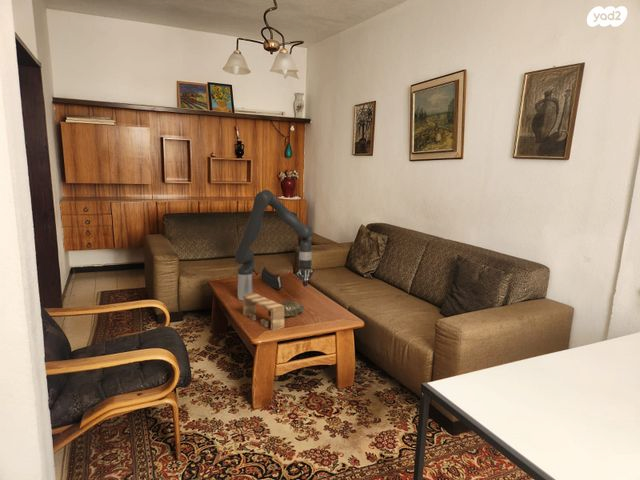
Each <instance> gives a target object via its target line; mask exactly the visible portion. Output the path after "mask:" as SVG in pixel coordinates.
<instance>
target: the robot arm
mask: <svg viewBox="0 0 640 480" xmlns="http://www.w3.org/2000/svg"><path fill="white" fill-rule="evenodd" d="M268 206H270V207H271V208H272V209H274V211H276V213H277V214H278V215H279V217H280V218H281V220H282V221H283V222H284V223H285V224H287V225H288V226H289V227H291V228H292V230H294V232H295V233H296V234H297V235H298V236H299V237H300V238H301V240H300V242H299V253H298V255H299V256H298V267H299V269H298V272H296V273H295V274H296V276H297V277H298V278H299V280H301V281H302V287H308V284H309V283H308V281H309V280H310V279H311V277H312V276H313V274H314V272H315V270H314V269H312V265H313V264H312V260H313V259H312V256H313V255H312V254H313V253H312V240H313V233H314V232H313V231H314V230H313V227H312V226H311V225H309V224H304V223H303V222H302V221H301V219H300V218H299V217H298V216H297V215H296V214H294V213H293V212H292V211H290V210H289V209H288V208H287V207H286V206H285V205H284V204H283V203H282V202H281V201H280V200H279V199H278V198H277V196H276V195H275V194H274V193H273V192H272V191H271V190H269V189H262V190H261V191H259V192H257V194H255V197H254V199H253V205H252V209H251V212H250V215H249V217H248V219H247V220H248V221H247V223H246V226H245V229H244V231H243V232H244V233H243V235H242V236H241V240H240V242H239V245H238V247H237V249H236V251H235V255H234V260H235V262H236V263H237V264H239V265H240V267H239V268H238V269H237V298H238V300H239V301H242V302H243V295H246V294H250V293H254V291H253V290H254V289H253V288H254V287H253V285H254V284H253V283H254V281H253V279H254V278H253V271H254V267H255V254H254V250H253V249H252V248H250V247H251V246H252V244H254V242H255V241H256V240H257V239H258V237H259V236H260V234H261V231H262V228H263V216H264V213H265V211H266V209H267V207H268ZM241 264H242V265H241Z"/></svg>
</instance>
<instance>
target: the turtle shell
mask: <svg viewBox="0 0 640 480" xmlns="http://www.w3.org/2000/svg"><path fill="white" fill-rule="evenodd" d="M279 304H281V305H283V306H284V318H287V317H288V318H289V317H296V316H299V315H301V314H302V313H303V311H304V309H305V306H304V305H303V304H302V302H297V301H294V300H293V301H291V300H287V301H283V302H279ZM269 312H270V313H271V310H269Z"/></svg>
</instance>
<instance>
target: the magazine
mask: <svg viewBox="0 0 640 480" xmlns="http://www.w3.org/2000/svg"><path fill="white" fill-rule="evenodd" d="M260 275H261V277H260V279H261V280H262V281H263V282H264V283H265V284H266V285H268V286H269V287H271V288H273V289H276V290H277V291H280V290H281V289H282V288H283V281H282V278H281V275H280V274H274V273H272V272H271V271H270V270H268V269H267V267H263V268H262V270H261V274H260Z"/></svg>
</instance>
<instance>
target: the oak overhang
mask: <svg viewBox="0 0 640 480" xmlns="http://www.w3.org/2000/svg"><path fill="white" fill-rule="evenodd" d="M279 303H280V302H279ZM279 303H278V302H276V301H274V300H272V299H269V298H267V297H265V296H262V295H260V294H258V293H256V292H253V293H250V294H246V295H243V301H242V316H243V317H247V316H248V319H249V320H251V321H254V322H255V321H257V315H256V313H257V305H259V306H261V307H263V308H265V309H268V310H269V311H270V310H271V312H270V322H269V320H266V319H264V318H262V319H260V325H261V326H263V327H265V328H269V326H270V330H271V331H272V330H273V332H274V331H277V330H280V329H283V328H285V317H284V306H283V305H281V304H279Z"/></svg>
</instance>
